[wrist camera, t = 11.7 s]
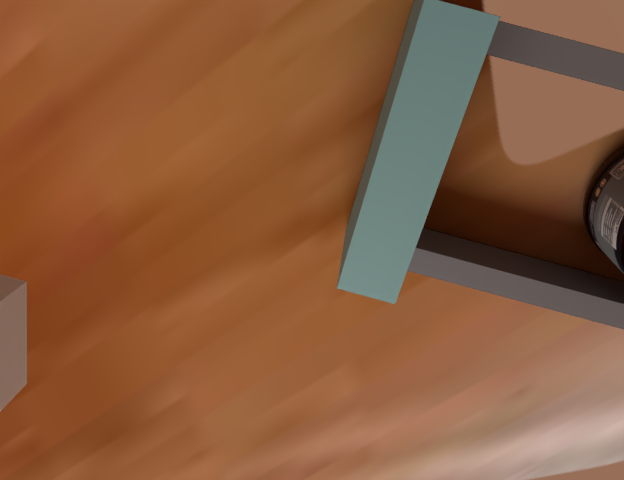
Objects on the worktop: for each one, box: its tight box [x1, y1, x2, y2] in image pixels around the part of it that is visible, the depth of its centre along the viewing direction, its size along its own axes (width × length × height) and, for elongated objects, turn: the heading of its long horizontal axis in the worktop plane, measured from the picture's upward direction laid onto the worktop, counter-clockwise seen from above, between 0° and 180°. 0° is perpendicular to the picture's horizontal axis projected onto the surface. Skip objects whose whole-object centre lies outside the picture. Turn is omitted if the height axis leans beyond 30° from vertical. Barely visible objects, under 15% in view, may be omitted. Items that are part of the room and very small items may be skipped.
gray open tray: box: [337, 0, 624, 329], centre depth 35 cm, size 18×29×10 cm, turn 76°
